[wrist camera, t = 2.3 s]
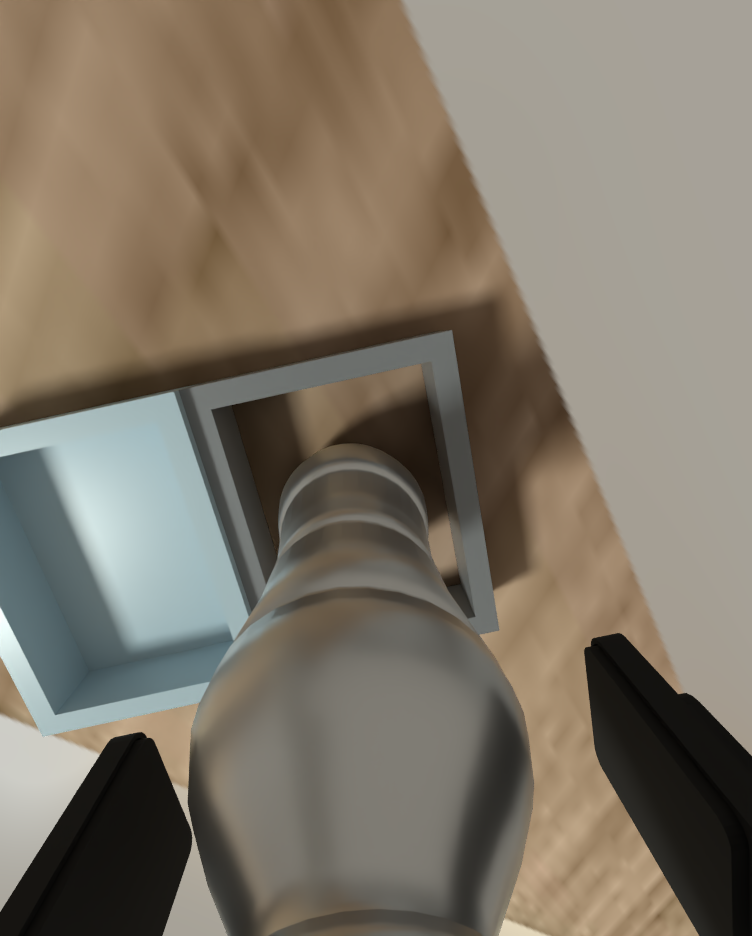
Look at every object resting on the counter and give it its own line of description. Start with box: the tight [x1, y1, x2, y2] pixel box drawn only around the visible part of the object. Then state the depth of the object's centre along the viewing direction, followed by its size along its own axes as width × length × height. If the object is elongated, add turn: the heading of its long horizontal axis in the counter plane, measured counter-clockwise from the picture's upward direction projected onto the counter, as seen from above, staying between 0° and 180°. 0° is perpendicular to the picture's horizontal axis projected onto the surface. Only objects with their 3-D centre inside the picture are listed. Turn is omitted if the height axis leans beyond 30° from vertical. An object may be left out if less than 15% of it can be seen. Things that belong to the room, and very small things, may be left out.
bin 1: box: [0, 383, 252, 736], centre depth 21 cm, size 14×11×4 cm
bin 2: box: [178, 330, 499, 635], centre depth 21 cm, size 14×11×3 cm
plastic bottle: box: [188, 443, 534, 936], centre depth 13 cm, size 6×7×20 cm
